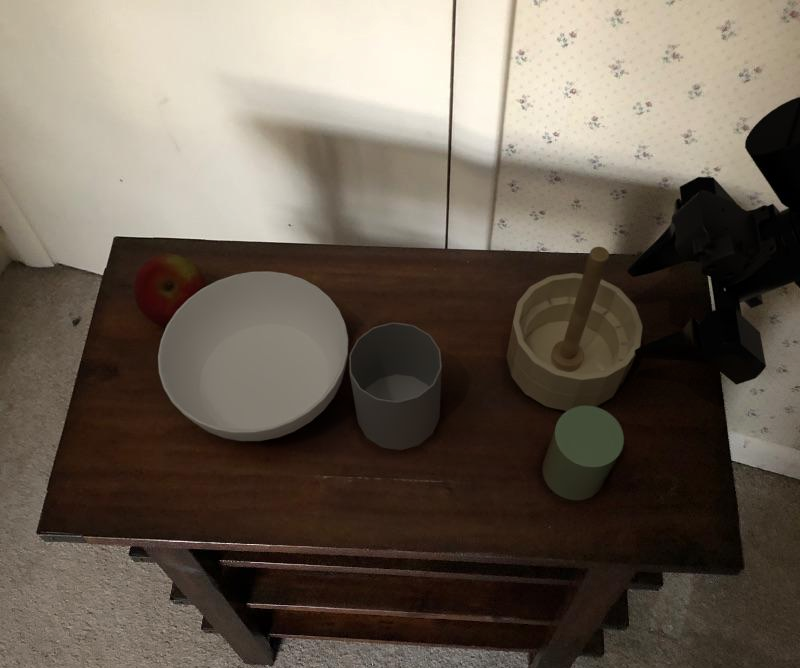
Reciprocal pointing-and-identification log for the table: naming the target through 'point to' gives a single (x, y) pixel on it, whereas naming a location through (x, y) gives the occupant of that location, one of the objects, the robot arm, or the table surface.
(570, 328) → the stirring stick
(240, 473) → the table surface
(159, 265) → the apple
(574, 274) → the mixing bowl
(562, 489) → the green cylinder pedestal
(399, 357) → the cup
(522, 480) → the table surface
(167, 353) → the bowl
